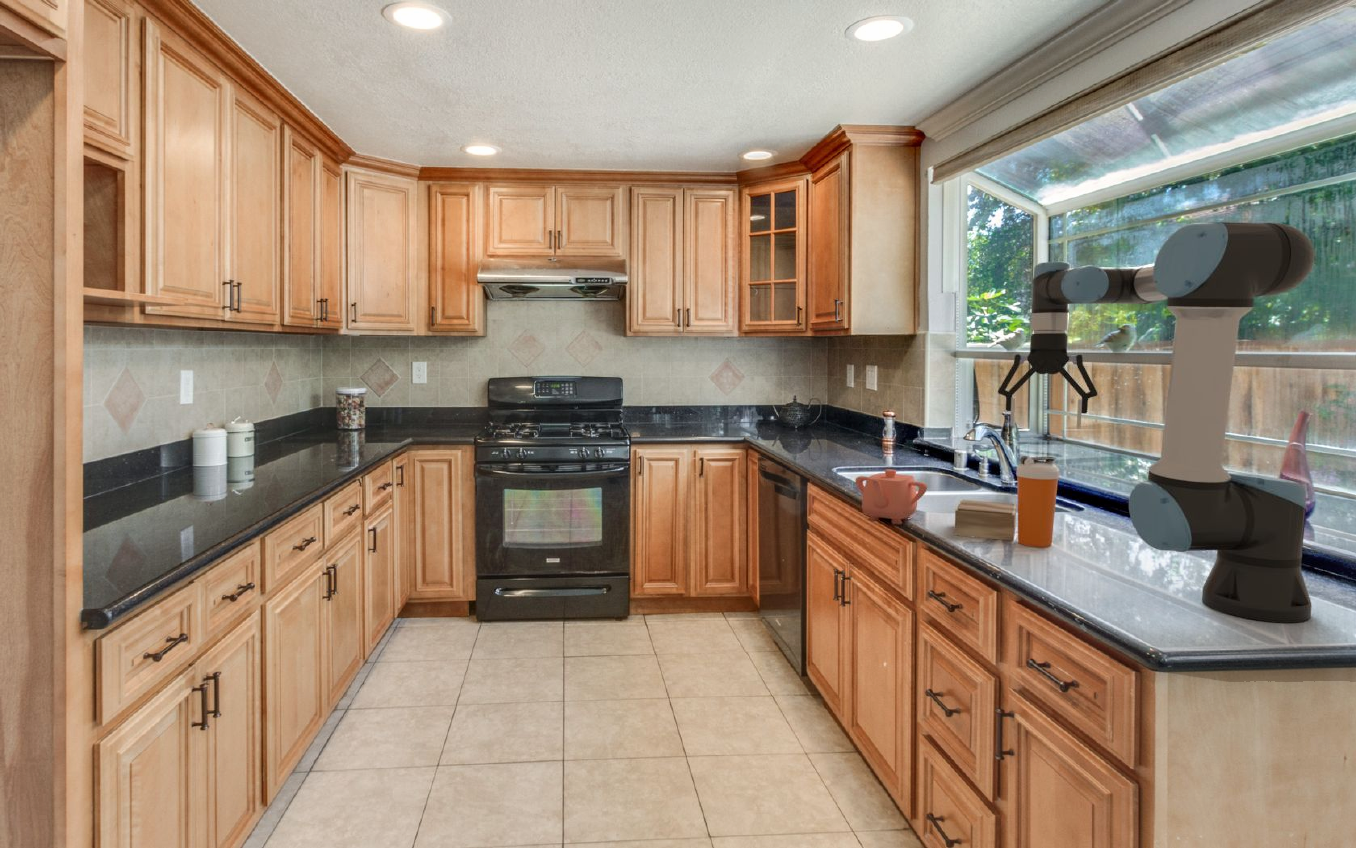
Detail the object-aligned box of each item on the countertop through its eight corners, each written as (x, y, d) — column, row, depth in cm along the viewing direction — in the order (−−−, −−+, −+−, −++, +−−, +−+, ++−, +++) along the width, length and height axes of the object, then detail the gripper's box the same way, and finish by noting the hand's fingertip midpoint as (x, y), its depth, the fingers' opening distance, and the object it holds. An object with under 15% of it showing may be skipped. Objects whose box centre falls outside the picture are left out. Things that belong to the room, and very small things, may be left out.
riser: (1013, 540, 182) (1014, 513, 181) (954, 535, 187) (955, 509, 187) (1015, 529, 194) (1016, 503, 193) (959, 524, 199) (960, 499, 198)
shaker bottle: (1063, 548, 175) (1067, 460, 173) (1023, 548, 175) (1027, 460, 173) (1045, 538, 184) (1049, 454, 182) (1007, 538, 184) (1010, 454, 182)
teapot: (902, 512, 214) (903, 464, 213) (932, 524, 199) (934, 473, 197) (845, 515, 211) (846, 466, 209) (871, 528, 195) (872, 476, 194)
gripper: (1111, 332, 173) (1106, 427, 175) (990, 333, 184) (987, 423, 186) (1113, 331, 166) (1108, 431, 168) (988, 332, 177) (984, 425, 179)
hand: (1044, 427), depth 177 cm, fingers open, 13 cm apart
